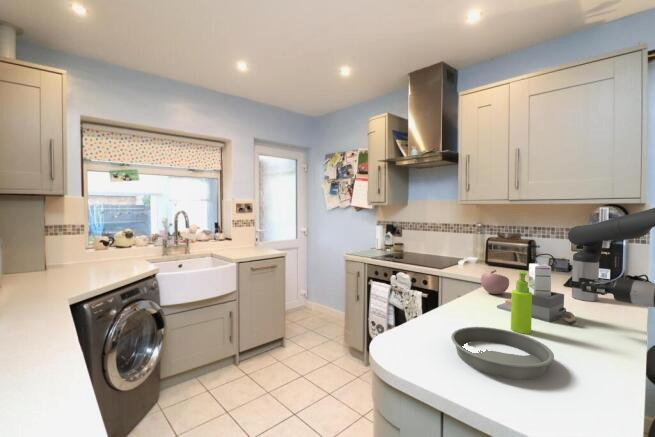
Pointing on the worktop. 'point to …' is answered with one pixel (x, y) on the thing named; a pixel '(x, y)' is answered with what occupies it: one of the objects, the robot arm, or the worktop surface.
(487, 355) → the cake pan
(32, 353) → the worktop surface
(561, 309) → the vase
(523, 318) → the soap dispenser
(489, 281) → the pink apple
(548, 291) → the syrup box
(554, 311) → the socket
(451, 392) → the worktop surface
